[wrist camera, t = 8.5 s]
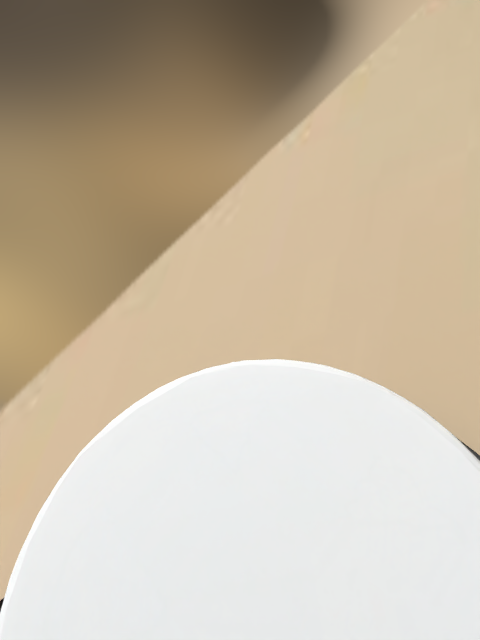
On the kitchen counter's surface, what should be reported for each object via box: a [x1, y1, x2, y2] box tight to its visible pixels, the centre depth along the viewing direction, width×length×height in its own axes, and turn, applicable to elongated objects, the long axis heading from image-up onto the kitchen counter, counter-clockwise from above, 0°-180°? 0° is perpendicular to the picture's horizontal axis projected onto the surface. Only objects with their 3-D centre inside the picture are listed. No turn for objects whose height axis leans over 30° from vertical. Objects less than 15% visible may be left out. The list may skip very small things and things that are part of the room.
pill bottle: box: [0, 359, 480, 640], centre depth 8 cm, size 6×6×11 cm
